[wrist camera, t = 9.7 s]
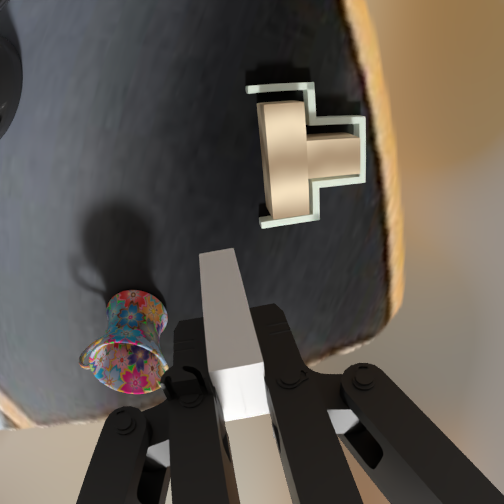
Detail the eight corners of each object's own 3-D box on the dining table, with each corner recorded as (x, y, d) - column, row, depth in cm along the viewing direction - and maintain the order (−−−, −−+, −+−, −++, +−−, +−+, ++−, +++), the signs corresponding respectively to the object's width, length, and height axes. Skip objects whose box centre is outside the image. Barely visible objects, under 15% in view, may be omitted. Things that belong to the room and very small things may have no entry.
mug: (157, 276, 39) (150, 333, 30) (179, 329, 44) (179, 388, 35) (77, 295, 39) (55, 350, 30) (105, 344, 43) (93, 399, 34)
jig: (245, 86, 30) (247, 86, 29) (357, 82, 32) (363, 82, 30) (259, 223, 38) (261, 228, 37) (358, 208, 40) (364, 213, 38)
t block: (256, 103, 32) (263, 104, 28) (343, 98, 32) (359, 100, 29) (266, 206, 38) (273, 219, 34) (345, 195, 38) (359, 207, 35)
